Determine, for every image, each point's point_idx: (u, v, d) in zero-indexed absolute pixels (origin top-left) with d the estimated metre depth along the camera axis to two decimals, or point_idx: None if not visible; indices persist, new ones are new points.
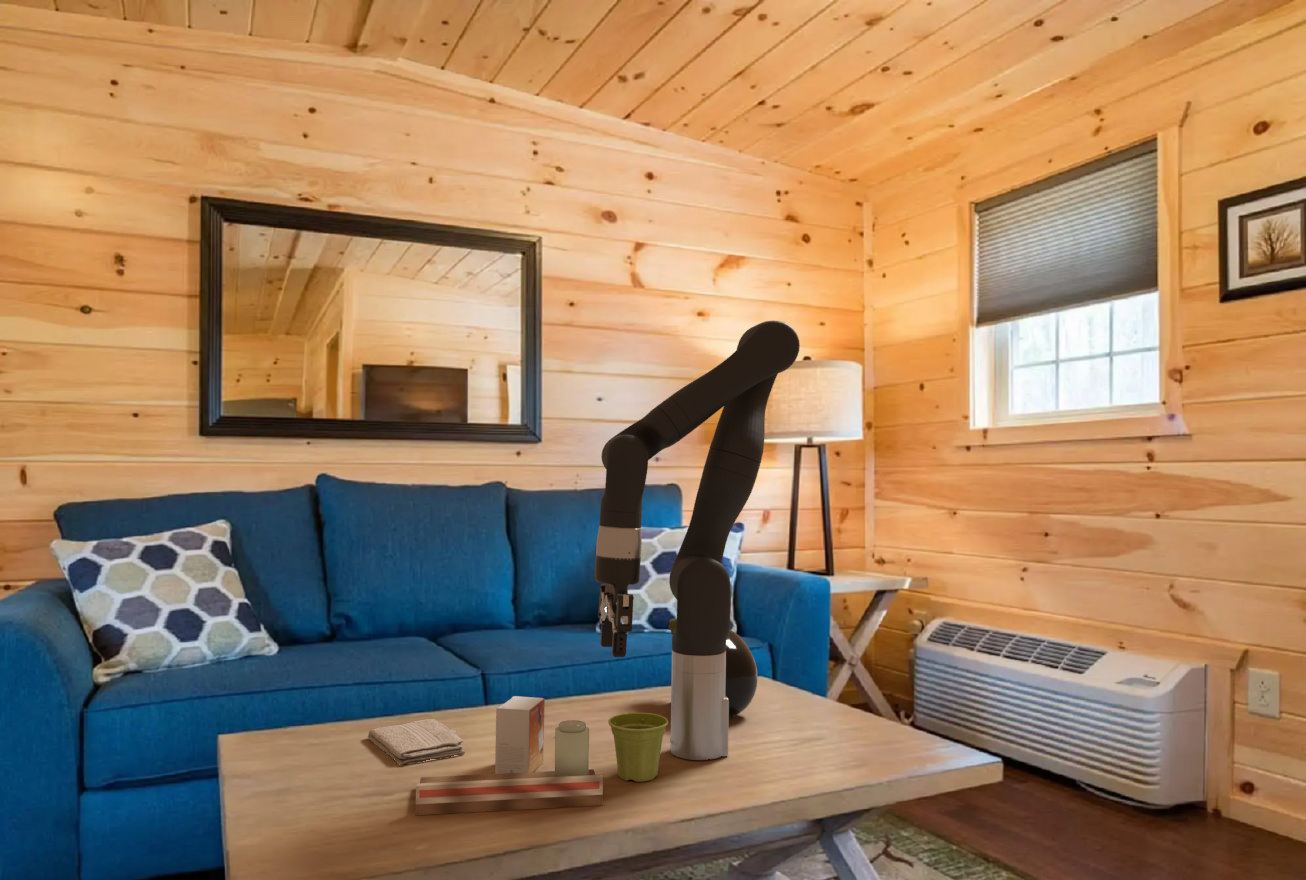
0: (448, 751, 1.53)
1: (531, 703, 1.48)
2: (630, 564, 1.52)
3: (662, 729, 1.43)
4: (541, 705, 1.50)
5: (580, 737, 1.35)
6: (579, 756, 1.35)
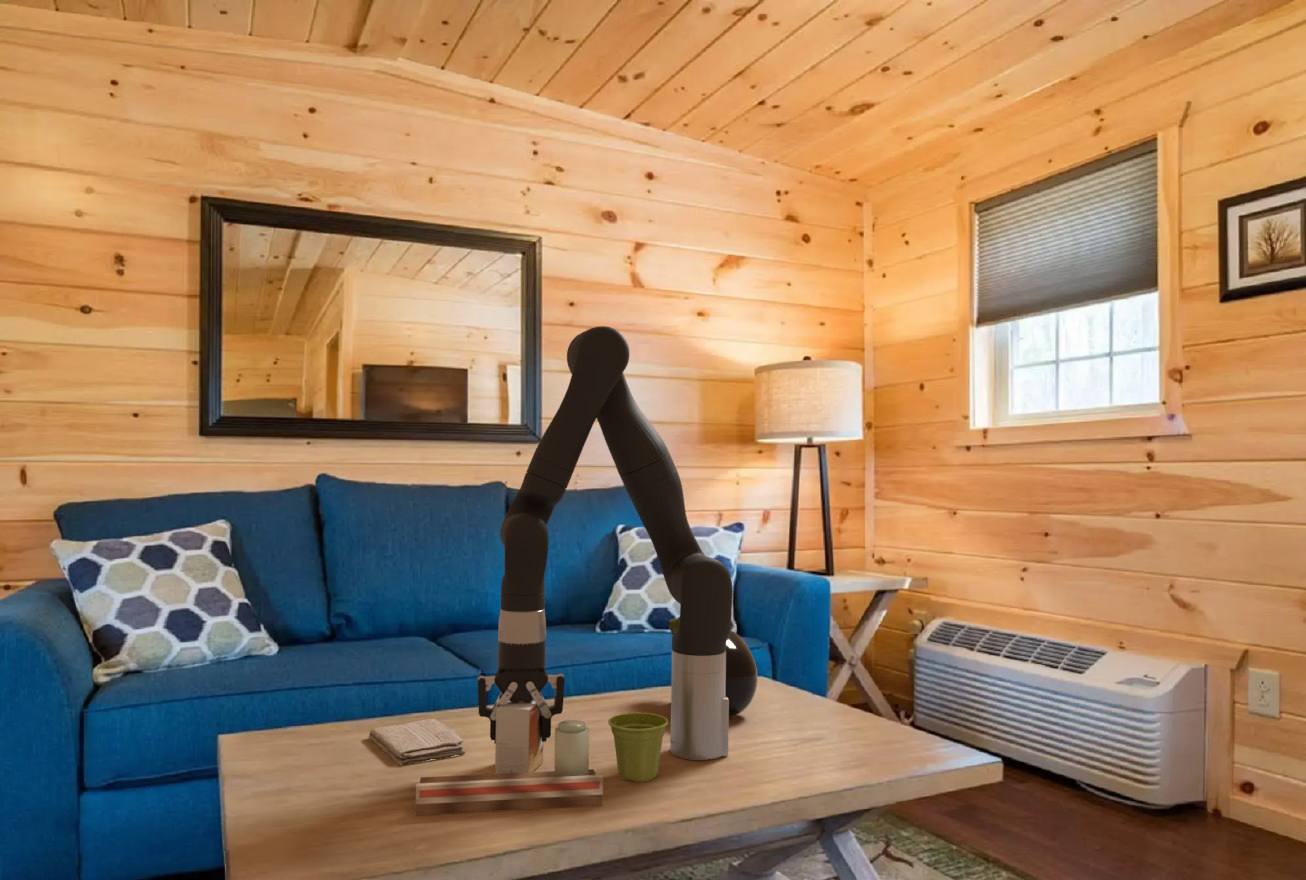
0: (448, 751, 1.53)
1: (531, 703, 1.48)
2: None
3: (662, 729, 1.43)
4: None
5: (579, 737, 1.35)
6: (579, 756, 1.35)
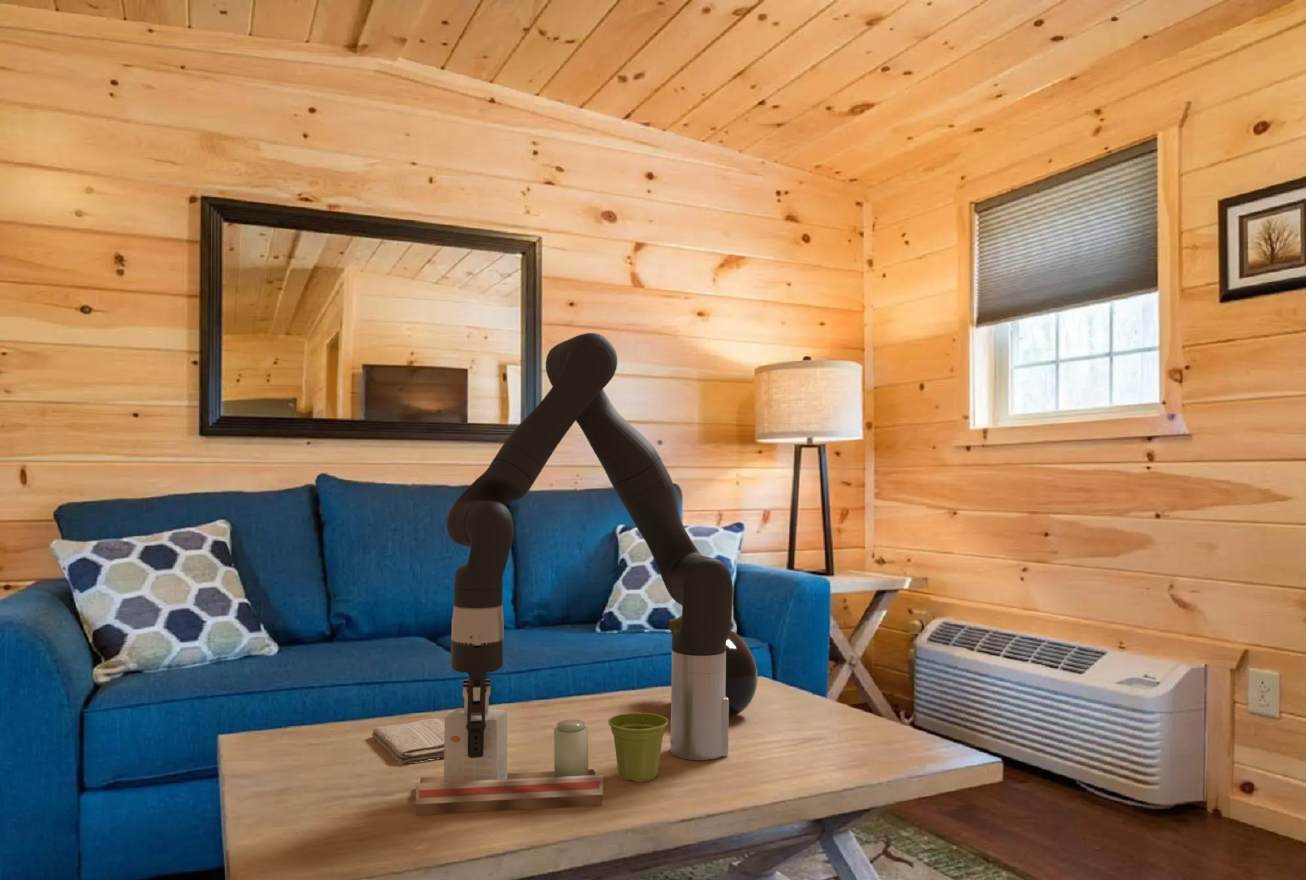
0: None
1: None
2: None
3: (662, 729, 1.43)
4: None
5: (580, 736, 1.35)
6: (580, 755, 1.35)
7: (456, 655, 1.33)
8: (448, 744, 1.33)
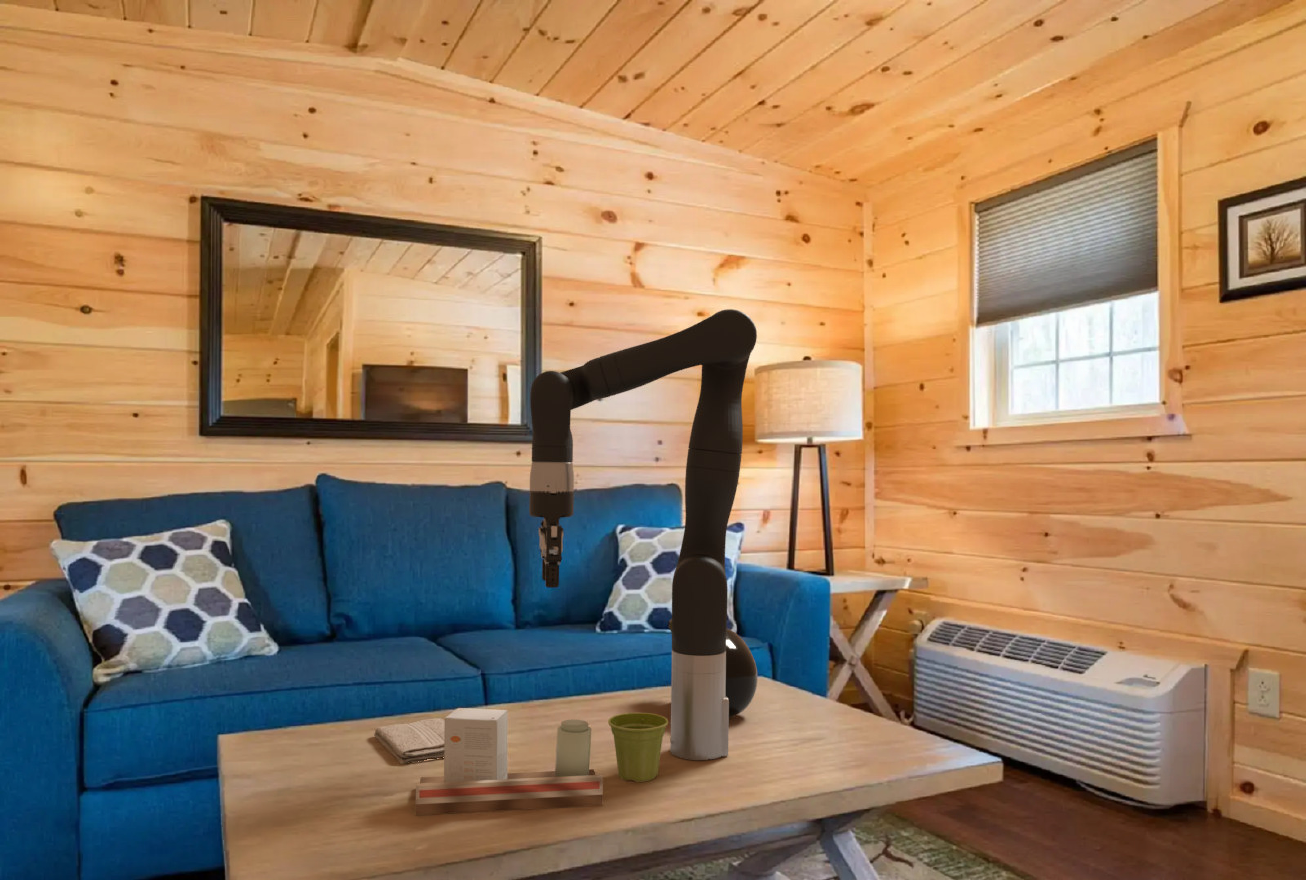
0: None
1: (481, 710, 1.38)
2: None
3: (662, 729, 1.43)
4: None
5: (584, 736, 1.35)
6: (583, 755, 1.35)
7: (534, 502, 1.56)
8: (448, 744, 1.33)
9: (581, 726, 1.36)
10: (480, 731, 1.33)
